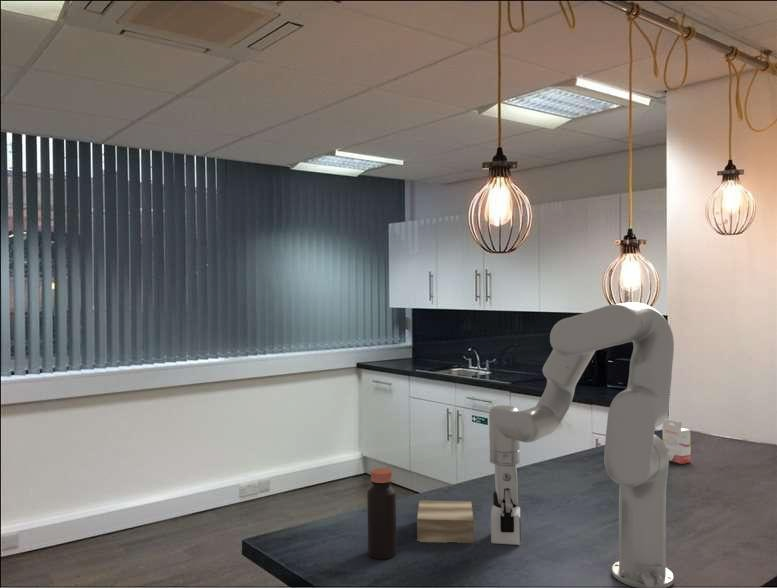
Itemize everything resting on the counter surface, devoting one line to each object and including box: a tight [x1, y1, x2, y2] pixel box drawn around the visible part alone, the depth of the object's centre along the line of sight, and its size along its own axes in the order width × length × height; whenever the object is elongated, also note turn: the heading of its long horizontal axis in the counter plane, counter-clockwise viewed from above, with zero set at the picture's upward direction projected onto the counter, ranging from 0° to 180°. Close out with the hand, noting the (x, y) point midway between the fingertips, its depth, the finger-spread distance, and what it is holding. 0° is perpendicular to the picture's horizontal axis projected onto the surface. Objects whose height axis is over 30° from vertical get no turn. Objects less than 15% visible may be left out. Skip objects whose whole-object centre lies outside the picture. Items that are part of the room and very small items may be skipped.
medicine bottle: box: [490, 490, 522, 546], centre depth 163 cm, size 7×7×12 cm
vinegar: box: [366, 467, 397, 560], centre depth 155 cm, size 7×7×20 cm
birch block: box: [416, 499, 475, 544], centre depth 168 cm, size 14×14×6 cm
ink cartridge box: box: [662, 418, 692, 465], centre depth 231 cm, size 9×5×15 cm, turn 25°
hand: (505, 525), depth 163 cm, fingers closed on medicine bottle, 7 cm apart
